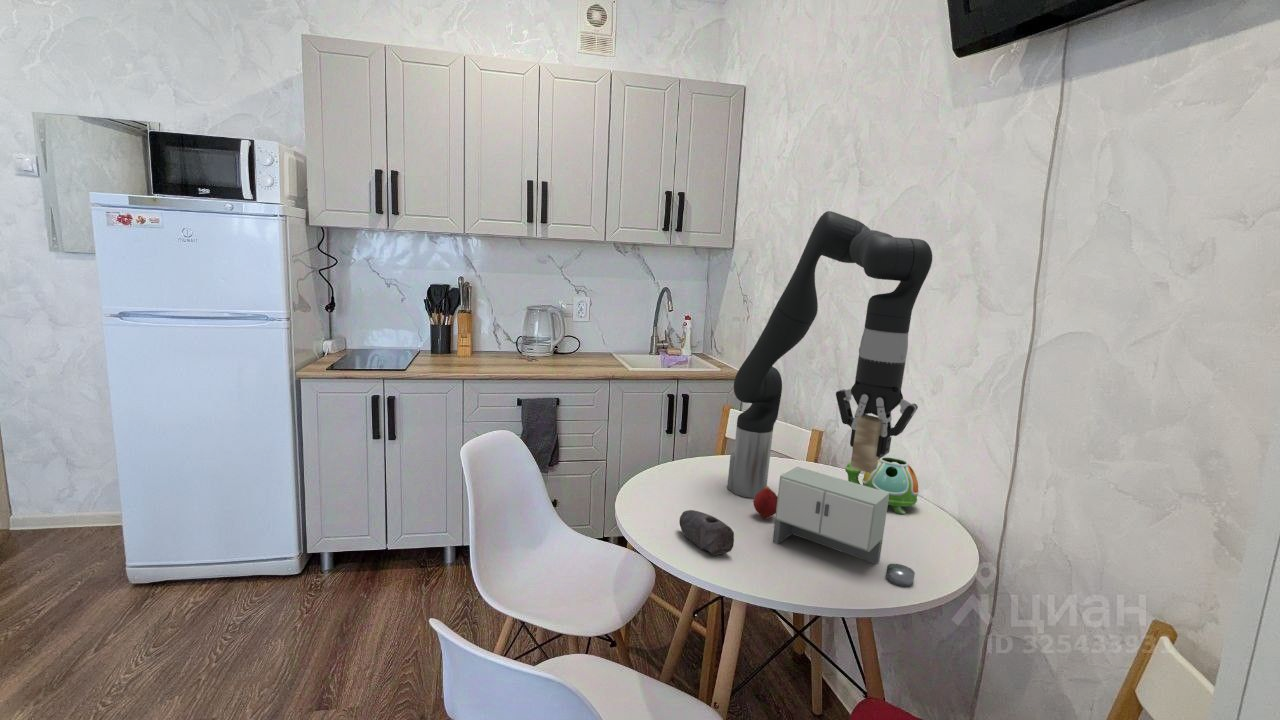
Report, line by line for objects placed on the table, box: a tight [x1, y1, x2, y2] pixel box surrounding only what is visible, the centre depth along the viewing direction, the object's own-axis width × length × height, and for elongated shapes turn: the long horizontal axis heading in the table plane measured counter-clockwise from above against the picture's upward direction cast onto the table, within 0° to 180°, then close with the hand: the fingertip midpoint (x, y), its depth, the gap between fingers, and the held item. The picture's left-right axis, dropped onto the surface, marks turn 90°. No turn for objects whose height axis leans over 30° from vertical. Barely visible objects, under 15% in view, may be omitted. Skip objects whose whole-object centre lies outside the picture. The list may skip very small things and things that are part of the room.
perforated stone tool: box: [678, 509, 735, 556], centre depth 129 cm, size 15×5×7 cm, turn 33°
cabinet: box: [772, 466, 890, 565], centre depth 129 cm, size 20×9×15 cm, turn 52°
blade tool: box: [850, 414, 893, 473], centre depth 111 cm, size 4×15×9 cm, turn 142°
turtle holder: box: [844, 456, 920, 515], centre depth 159 cm, size 12×18×12 cm
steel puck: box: [885, 563, 916, 589], centre depth 120 cm, size 5×5×2 cm
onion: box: [753, 485, 778, 520], centre depth 144 cm, size 6×6×8 cm
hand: (867, 452), depth 108 cm, fingers closed on blade tool, 3 cm apart
